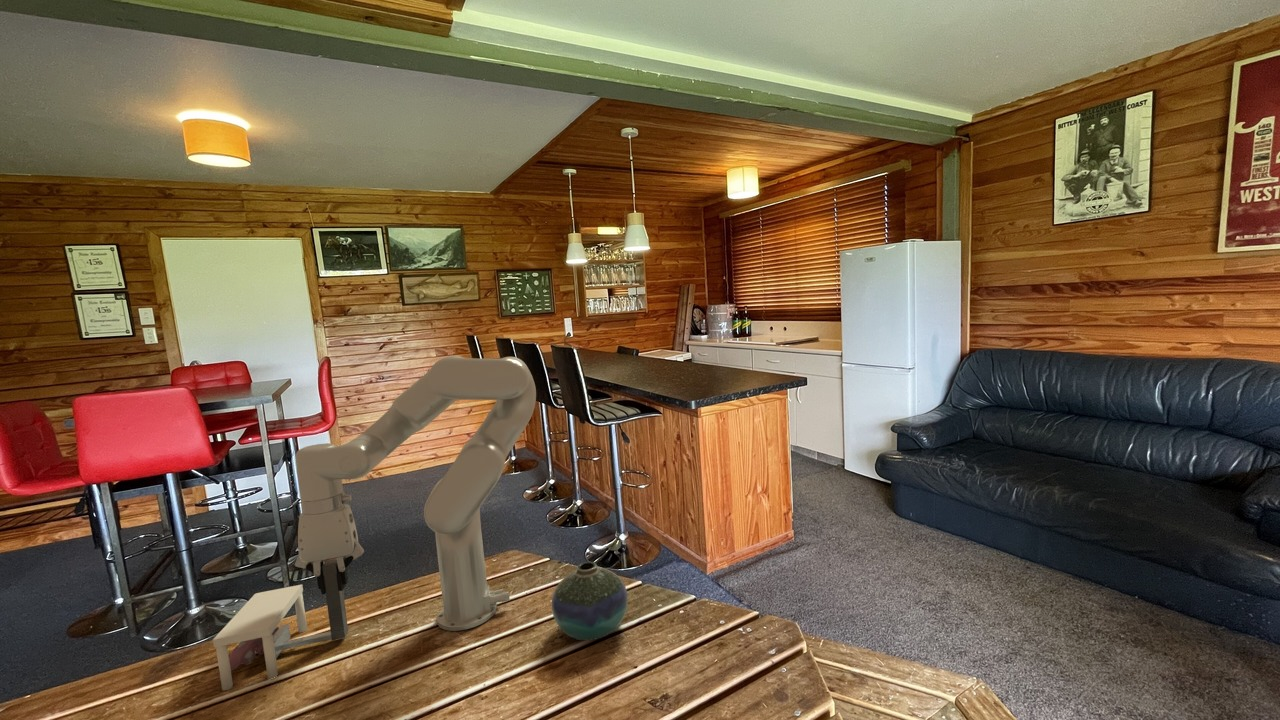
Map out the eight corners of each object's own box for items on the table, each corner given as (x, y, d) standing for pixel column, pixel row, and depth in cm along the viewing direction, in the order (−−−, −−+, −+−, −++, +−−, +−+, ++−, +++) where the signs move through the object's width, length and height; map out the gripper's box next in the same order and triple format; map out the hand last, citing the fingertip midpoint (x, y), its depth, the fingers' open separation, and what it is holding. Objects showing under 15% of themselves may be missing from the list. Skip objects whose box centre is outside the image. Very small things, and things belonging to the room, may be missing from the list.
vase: (595, 663, 95) (588, 593, 94) (538, 637, 104) (532, 573, 103) (645, 620, 107) (639, 558, 106) (590, 601, 116) (585, 544, 115)
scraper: (351, 624, 114) (342, 553, 112) (341, 645, 106) (331, 569, 105) (282, 638, 110) (272, 566, 109) (266, 661, 102) (256, 583, 101)
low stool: (308, 627, 116) (302, 584, 115) (276, 678, 98) (269, 627, 98) (261, 637, 113) (255, 593, 113) (220, 691, 96) (212, 639, 95)
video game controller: (235, 682, 101) (245, 651, 100) (216, 672, 101) (225, 641, 100) (278, 650, 111) (287, 622, 110) (259, 641, 111) (268, 612, 110)
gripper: (370, 492, 113) (379, 573, 114) (286, 505, 109) (296, 589, 110) (362, 503, 106) (372, 589, 107) (271, 517, 102) (283, 607, 103)
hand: (334, 588), depth 109 cm, fingers closed on scraper, 2 cm apart
